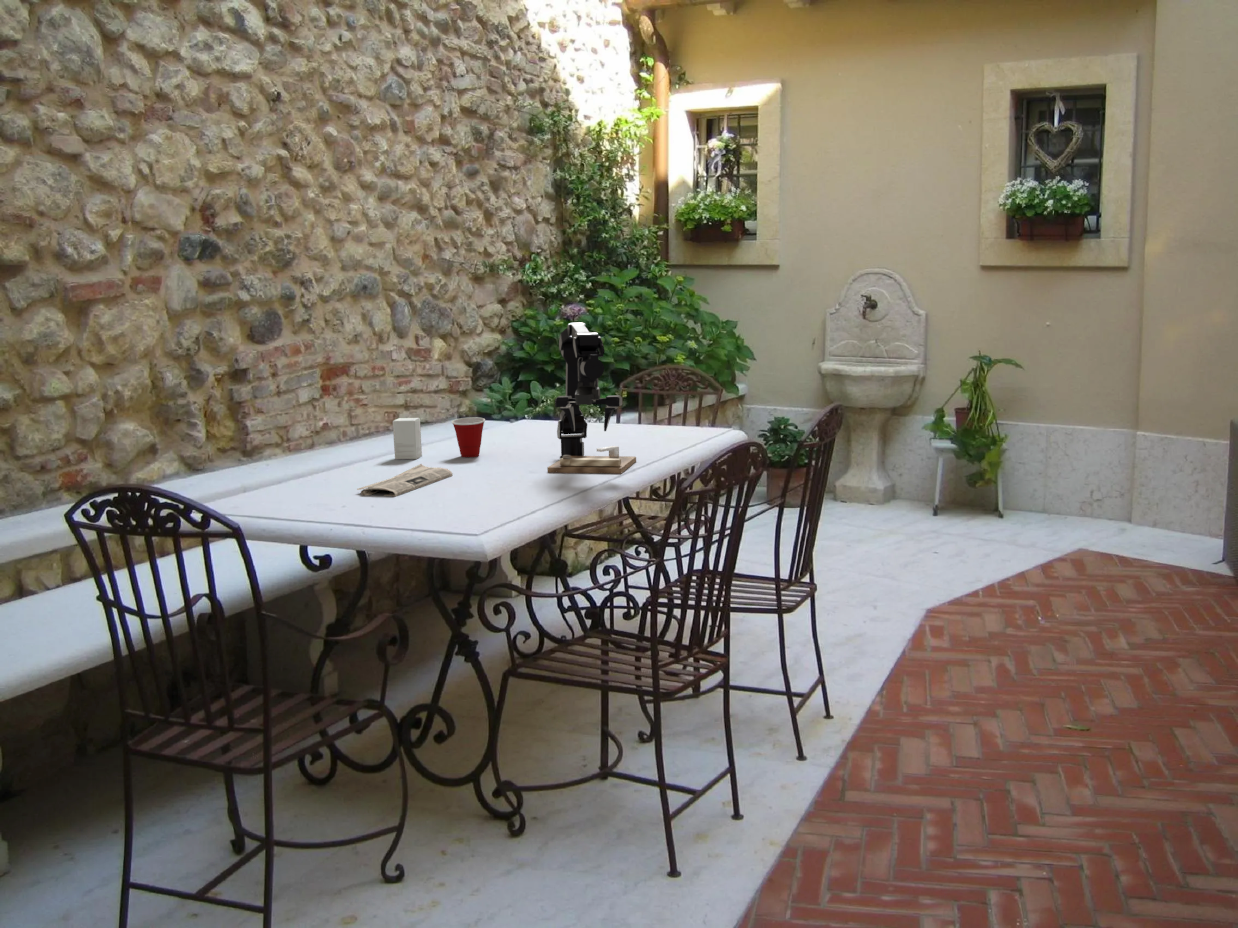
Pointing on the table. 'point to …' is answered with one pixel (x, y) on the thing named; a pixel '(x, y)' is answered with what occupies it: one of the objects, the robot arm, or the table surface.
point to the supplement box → (407, 438)
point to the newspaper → (408, 481)
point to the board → (625, 463)
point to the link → (589, 461)
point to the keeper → (611, 451)
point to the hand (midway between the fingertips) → (589, 431)
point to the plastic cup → (469, 435)
